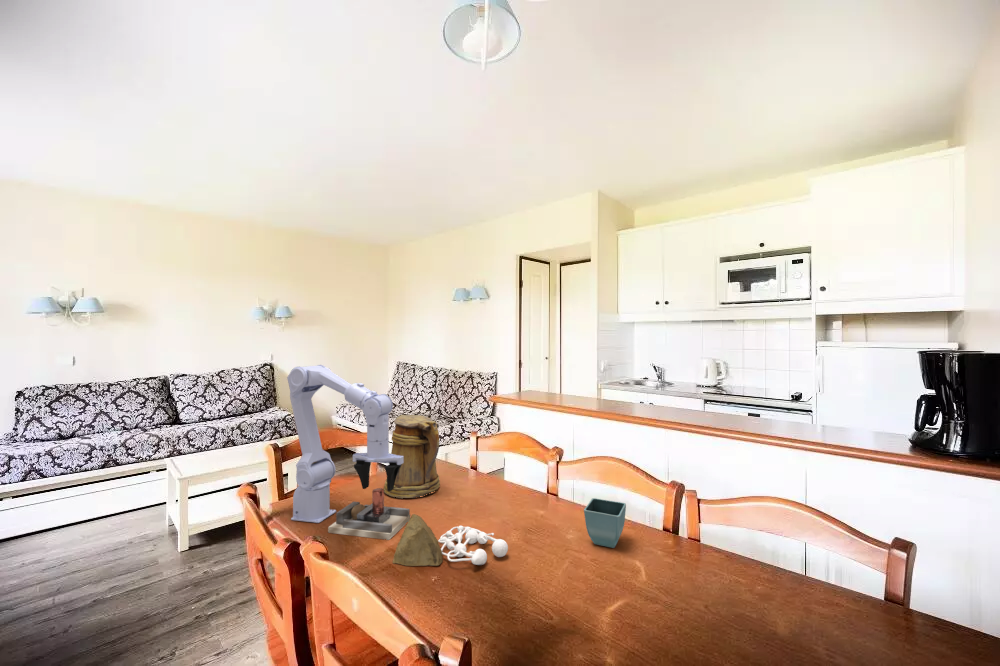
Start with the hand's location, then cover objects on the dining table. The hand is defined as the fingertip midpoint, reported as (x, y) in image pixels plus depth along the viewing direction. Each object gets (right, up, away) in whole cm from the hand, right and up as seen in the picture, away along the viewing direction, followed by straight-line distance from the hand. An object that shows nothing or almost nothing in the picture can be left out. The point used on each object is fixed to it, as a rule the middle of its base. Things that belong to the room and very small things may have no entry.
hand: (378, 488), depth 111 cm
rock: (+15, -10, -18) cm, 26 cm away
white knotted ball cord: (+26, -10, -13) cm, 31 cm away
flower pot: (+60, -10, -10) cm, 62 cm away
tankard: (+5, -11, +26) cm, 29 cm away
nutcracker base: (-2, -10, 0) cm, 11 cm away
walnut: (-6, -7, +1) cm, 9 cm away
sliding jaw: (-1, -9, 0) cm, 9 cm away
